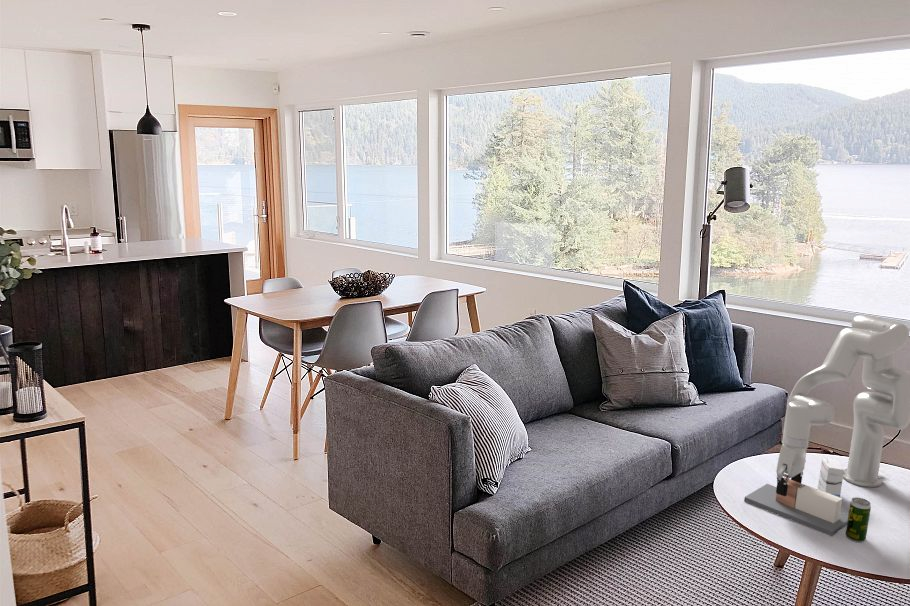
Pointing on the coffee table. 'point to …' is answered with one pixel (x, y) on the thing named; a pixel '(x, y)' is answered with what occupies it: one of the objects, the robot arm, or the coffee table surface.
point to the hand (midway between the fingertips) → (788, 490)
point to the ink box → (830, 477)
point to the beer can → (858, 520)
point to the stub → (789, 494)
